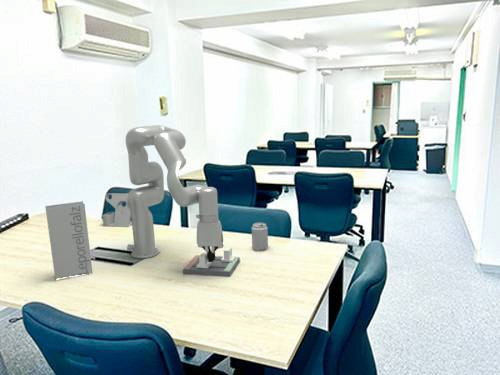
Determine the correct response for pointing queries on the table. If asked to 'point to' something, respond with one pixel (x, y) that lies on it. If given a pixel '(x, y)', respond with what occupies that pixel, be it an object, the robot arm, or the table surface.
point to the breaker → (228, 255)
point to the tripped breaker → (203, 261)
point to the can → (259, 236)
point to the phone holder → (117, 211)
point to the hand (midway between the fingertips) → (211, 260)
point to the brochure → (69, 239)
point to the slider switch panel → (212, 267)
